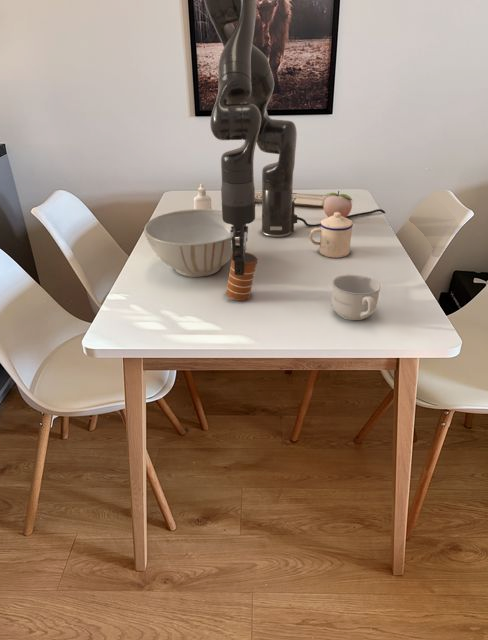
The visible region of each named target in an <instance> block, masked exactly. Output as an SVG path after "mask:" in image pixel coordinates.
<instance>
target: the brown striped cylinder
mask: <svg viewBox="0 0 488 640" xmlns="http://www.w3.org/2000/svg"><path fill="white" fill-rule="evenodd" d="M236 255H241V252H236ZM232 257H233V254H232V256H231V259H230V260H231V263H230V268H229V269H230V270H229V272H228V273H229V274H228V279H227V285H226V295H227V296H228V298H231V299H233V300H236V301H246V300H248V299H250V295H251V292H252V286H253V281H254V278H255V272H256V266H257V264H258V263H259V258H258V257H257V256H256V255H254V254H252V253H250V252H246V251H245V252H244V257H245V259H244V274H243V275H235V269H234V261H233V259H232Z"/></svg>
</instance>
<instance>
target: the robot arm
mask: <svg viewBox="0 0 488 640" xmlns="http://www.w3.org/2000/svg"><path fill="white" fill-rule="evenodd" d="M203 2H204V5H205V9H206V11H207V15H208V16H209V19H210V21H211V23H212V26H213V28H214V29H215V32H216V35H217V36H218V38H219V40H220V42H221V44H222V46H223V49H222V51H221V54H220V55H219V60H218V67H217V68H218V69H217V73H218V80H217V81H218V90H217V95H216V100H215V103H214V105H213V108H212V111H211V115H210V122H209V123H210V124H209V125H210V131H211V133H212V135H213V137H215V139H217V140H219V141H242V140H243V141H244V142H243V144H242V145H241V146H240V147H237V148H235V149H231V150H227V151H225V152H223V153H222V155H221V157H220V171H221V173H220V174H221V186H220V187H221V188H220V192H221V193H220V194H221V211H222V219H223V221H224V222H225V223H227V224H231V225H233V226H231V230H230V237H231V249H232V252H233V257H232V259H233V261H234V269H235V275H243V274H244V259H245V257H244V252H246V250H247V242H248V234H249V226H248V225H249V224H252V223H253V222H254V221H256V202H255V191H256V189H255V180H254V177H255V176H254V159H255V158H254V157H255V151H256V145H257V147H258V149H259V150H260V151H261V152H263V153H265V154H266V153H267V154H274V155H278V160H277V161H276V162H274V163H270V164H267V165H265V166H263V167H262V170H261V191H262V203H261V234H262V235H263V236H265V237H270V238H284V237H288V236H290V235H291V234H292V233H294V231H295V224H298V221H301V222H303V224H304V225H305V226H306V227H309V228H313V227H314V228H316V227H321V225H320V223H316V224H312V223H308V222H307V221H306V219H304V218H302V217H299V216H298V215H297V214H296V213H295V206H296V205H295V203H294V201H292V193H294V192H293V191H294V190H293V188H294V186H293V185H294V170H295V163H296V151H297V149H296V148H297V140H298V139H297V137H298V136H297V135H298V134H297V132H298V131H297V126H296V124H295V122H293V121H291V120H285V119H274V118H271V117H270V116H269V114H268V110H267V108H268V105H269V103H270V101H271V98H272V96H273V93H274V89H275V79H274V75H273V72H272V69H271V65H270V62H269V59H268V57H267V56H266V55H265V54H264V52H263V51H261V50H260V49H259V48H258V47H257V46H255V44H254V43H253V42H254V35H255V27H256V18H257V10H258V9H257V7H258V6H257V4H258V3H257V2H258V1H257V0H203ZM233 23H236V25H234V24H233ZM378 212H379V213H380V212H381V213H382V214H386V211H385V210H383V209H382V208H378V209H374V210H370V211H364V212H360V213H359V212H358V213H354V214H348V215H347V216H346V217H345V218H348V219H351V218H355V217H360V216H365V215H371V214H374V213H375V214H376V213H378ZM236 252H241V255H236ZM232 259H231V260H232Z"/></svg>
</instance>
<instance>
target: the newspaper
mask: <svg viewBox="0 0 488 640" xmlns="http://www.w3.org/2000/svg"><path fill="white" fill-rule="evenodd" d="M325 195H326V194H315V193H299V192H292V201H294V203H295V206H309V207H321V208H322V207H323V208H324V201H325V199H326V198H327V197H328V196H329V195H327V196H325ZM255 203H259V204H262V190H255Z"/></svg>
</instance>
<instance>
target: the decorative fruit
mask: <svg viewBox="0 0 488 640" xmlns="http://www.w3.org/2000/svg"><path fill="white" fill-rule="evenodd" d="M324 195H325V196H327V195H329V196H328V197H327V198H326V199H325V201H324V207H323V211H324V214H325V215H326V216H327V217H330V216H333V215H334V213H335V212H339V213H341V216H343V217H346V216H349V215H350V213H351V212H352V208H353V203H352V201H353V198H352V197H351V196H350V195H348V194H344V193H341V194H340V190H338V191H337V193H336V192H329V193H326V194H324Z"/></svg>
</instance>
